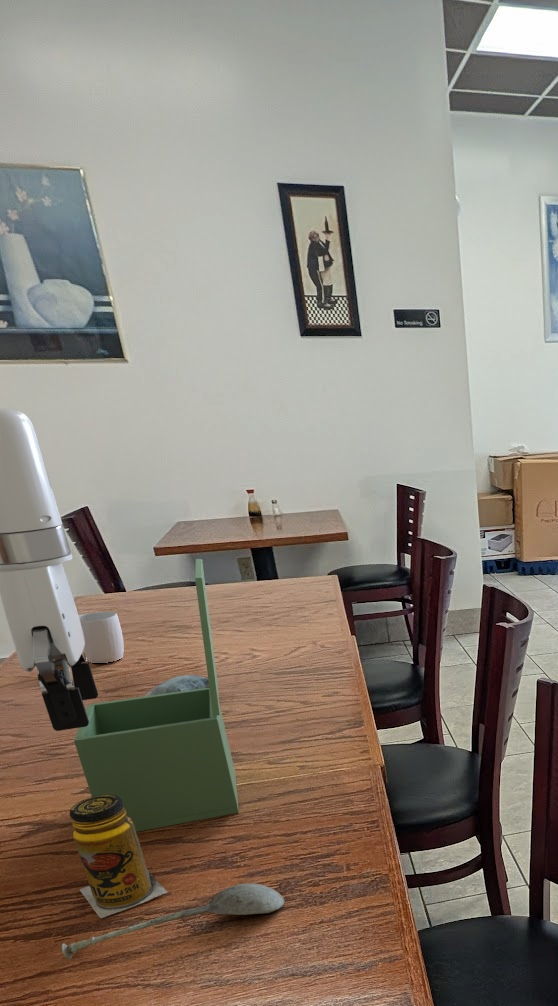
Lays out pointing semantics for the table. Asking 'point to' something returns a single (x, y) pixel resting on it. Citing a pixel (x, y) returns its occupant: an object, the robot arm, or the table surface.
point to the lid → (207, 636)
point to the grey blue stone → (180, 684)
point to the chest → (160, 758)
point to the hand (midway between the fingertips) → (77, 713)
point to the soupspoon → (205, 910)
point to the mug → (102, 637)
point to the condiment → (111, 856)
